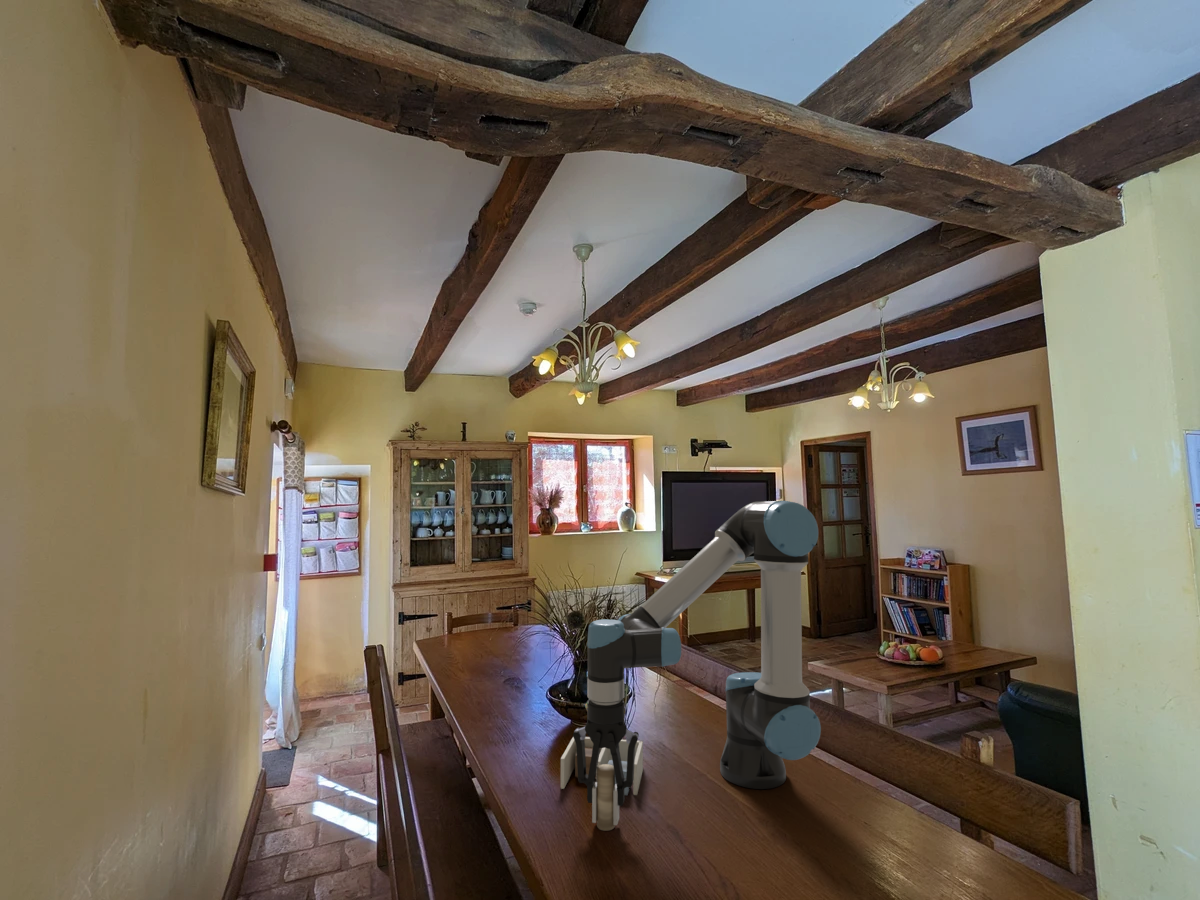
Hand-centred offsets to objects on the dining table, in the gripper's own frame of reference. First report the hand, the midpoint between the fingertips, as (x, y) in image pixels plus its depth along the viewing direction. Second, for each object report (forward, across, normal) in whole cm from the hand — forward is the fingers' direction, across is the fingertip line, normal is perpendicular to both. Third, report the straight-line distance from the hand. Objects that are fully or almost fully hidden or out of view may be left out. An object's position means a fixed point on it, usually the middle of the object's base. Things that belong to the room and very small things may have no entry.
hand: (605, 820), depth 116 cm
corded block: (+1, 0, -8) cm, 8 cm away
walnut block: (+1, +8, -22) cm, 23 cm away
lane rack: (+1, +4, -20) cm, 20 cm away
